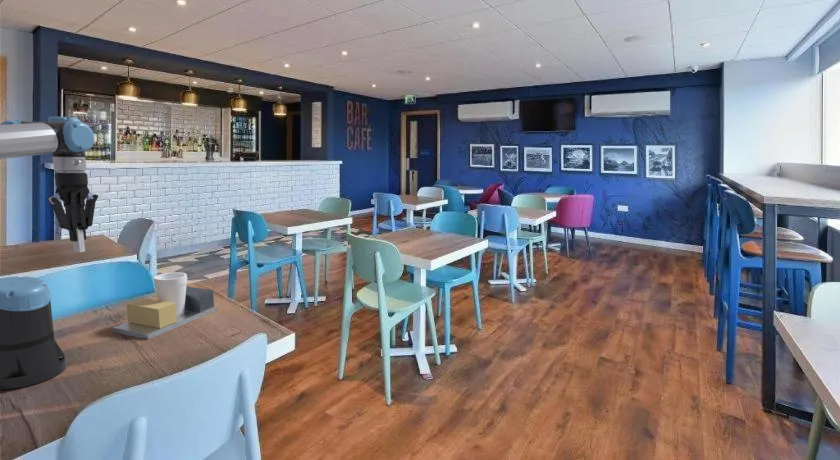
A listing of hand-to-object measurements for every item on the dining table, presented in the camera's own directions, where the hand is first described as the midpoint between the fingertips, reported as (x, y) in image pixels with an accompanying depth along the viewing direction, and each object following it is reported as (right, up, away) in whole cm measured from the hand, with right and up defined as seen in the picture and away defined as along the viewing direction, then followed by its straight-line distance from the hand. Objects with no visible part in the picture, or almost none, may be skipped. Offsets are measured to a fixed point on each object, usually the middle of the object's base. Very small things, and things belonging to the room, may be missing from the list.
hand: (79, 251), depth 132 cm
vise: (+20, -23, +12) cm, 33 cm away
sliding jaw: (+18, -22, +6) cm, 30 cm away
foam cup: (+20, -22, +14) cm, 33 cm away
